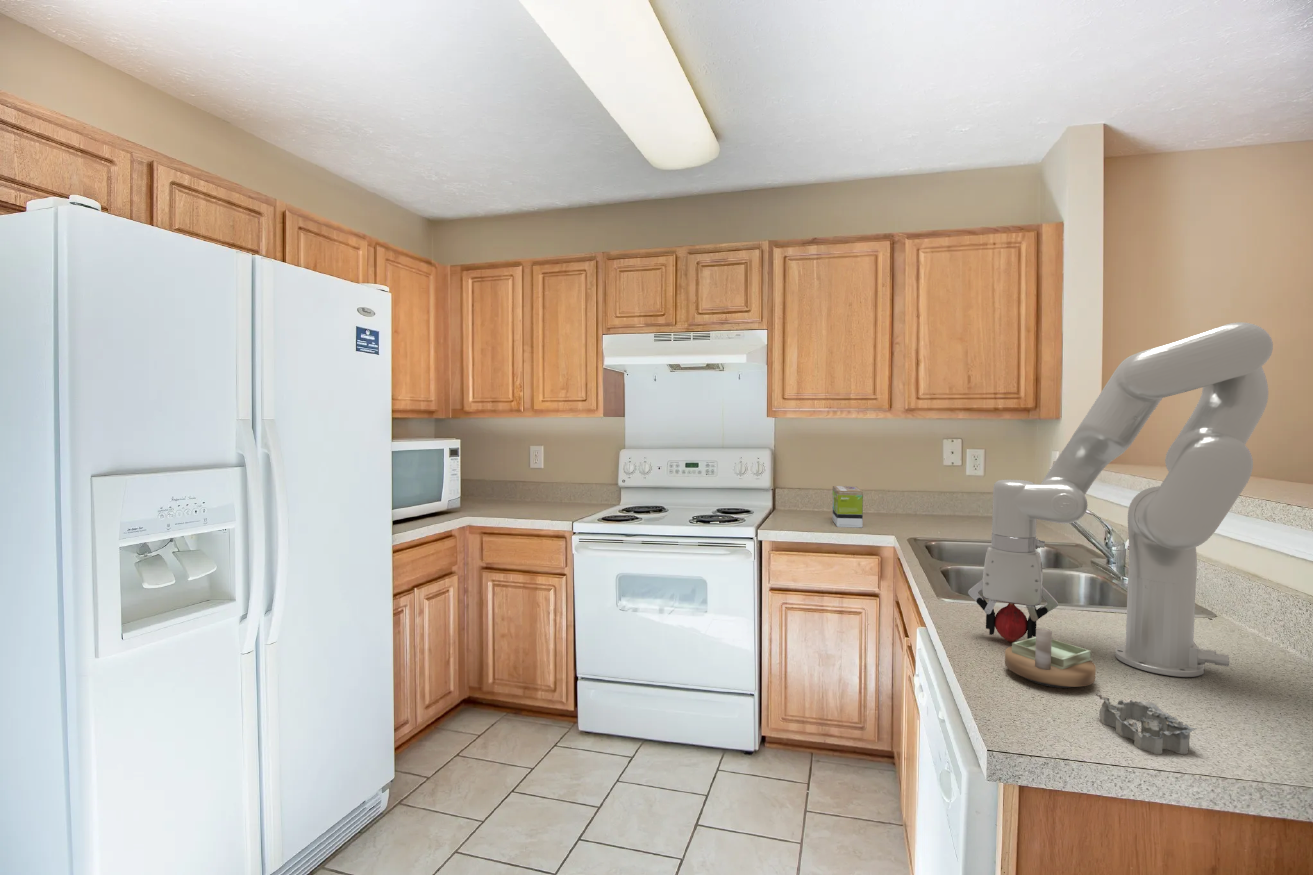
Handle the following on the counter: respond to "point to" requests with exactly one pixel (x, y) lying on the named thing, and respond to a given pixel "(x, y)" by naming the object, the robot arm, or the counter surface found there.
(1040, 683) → the turntable base
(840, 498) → the tea box
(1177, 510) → the robot arm
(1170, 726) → the egg carton
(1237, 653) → the counter surface
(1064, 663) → the disc
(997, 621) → the onion
